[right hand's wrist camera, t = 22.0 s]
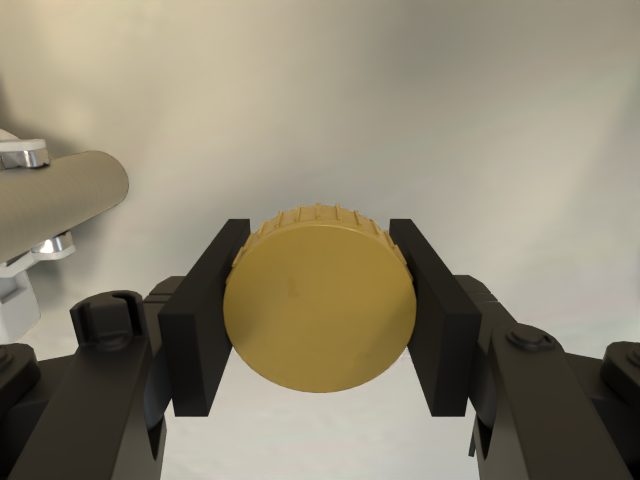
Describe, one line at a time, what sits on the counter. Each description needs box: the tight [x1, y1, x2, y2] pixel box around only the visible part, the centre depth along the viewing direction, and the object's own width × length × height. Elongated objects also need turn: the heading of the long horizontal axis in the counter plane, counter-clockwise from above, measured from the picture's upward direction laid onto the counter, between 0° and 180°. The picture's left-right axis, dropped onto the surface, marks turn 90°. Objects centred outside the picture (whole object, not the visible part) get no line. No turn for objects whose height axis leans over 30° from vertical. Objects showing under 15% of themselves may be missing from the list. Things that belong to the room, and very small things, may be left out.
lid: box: [223, 203, 417, 393], centre depth 11 cm, size 5×5×2 cm
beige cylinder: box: [0, 151, 128, 264], centre depth 21 cm, size 4×4×18 cm
